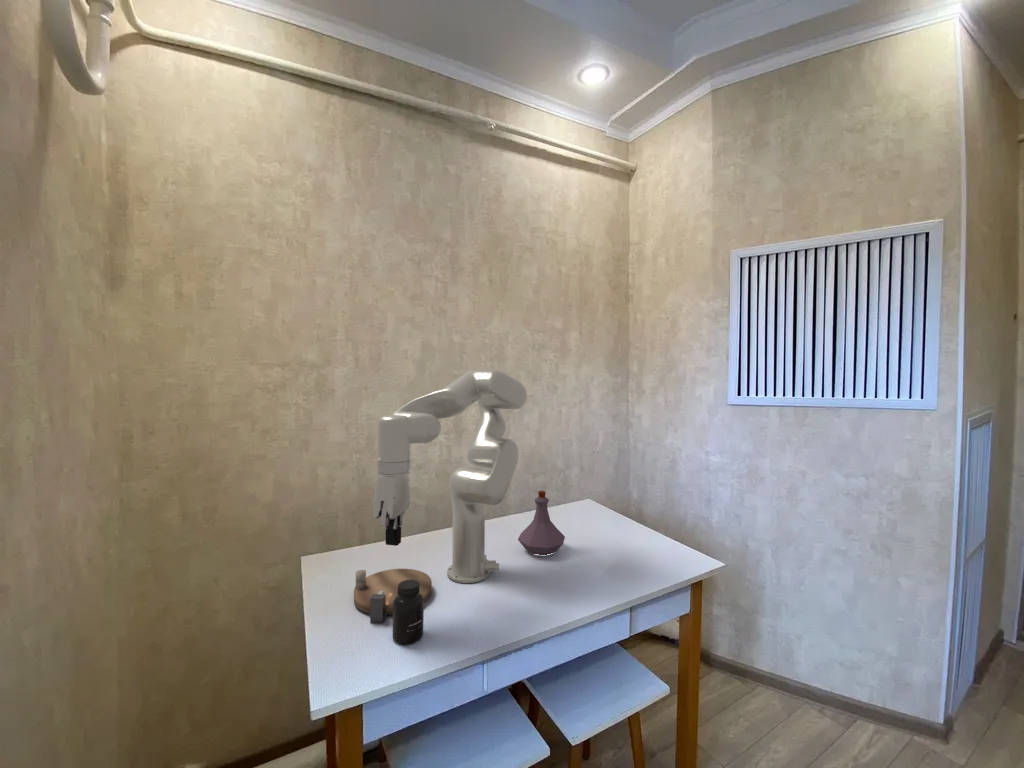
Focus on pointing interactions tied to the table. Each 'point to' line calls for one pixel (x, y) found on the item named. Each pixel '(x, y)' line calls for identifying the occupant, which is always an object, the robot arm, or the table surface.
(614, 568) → the table surface
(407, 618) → the supplement bottle
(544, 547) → the flask
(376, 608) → the index pointer
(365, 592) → the disc
